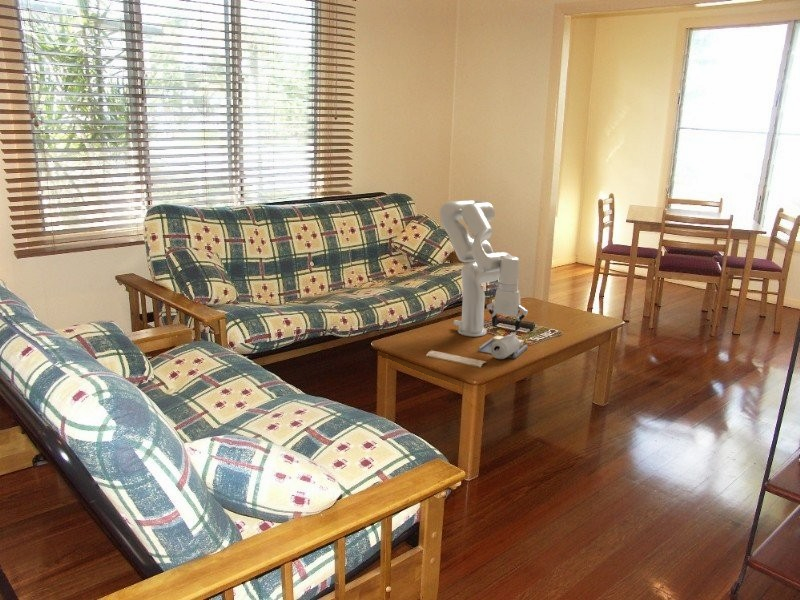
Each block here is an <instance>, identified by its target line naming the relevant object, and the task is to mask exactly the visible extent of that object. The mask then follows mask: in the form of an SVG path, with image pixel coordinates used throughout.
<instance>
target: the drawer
mask: <svg viewBox="0 0 800 600" xmlns="http://www.w3.org/2000/svg"><path fill="white" fill-rule="evenodd" d="M492 340H493V337H492V338H490V339H489V340H488V341H486V342H484V343H483V344H482V345H480V346H479V347H478V350H477V351H478V352H479V353H485V354H489V355H492V353H491V346H492ZM528 348H529V345H528V344H524V345H523V347H522V348H521V349H520V350H518V351H517V352H515V353H513V354H511V355H510V356H508V357H507V358H508V359H509V358H510V359H517V358H518V357H520V356H521V355H522V354H523V353H524V352H526V350H528Z"/></svg>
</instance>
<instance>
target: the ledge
mask: <svg viewBox="0 0 800 600" xmlns="http://www.w3.org/2000/svg"><path fill="white" fill-rule="evenodd" d="M503 337H504V336H503V335H502V336H501V335H494V336H493V337H492V339H493V340H492V344H493V343H494V342H495V341H497V340H499V339H501V338H503ZM518 340H519V342H520V348H519V350H520V349H521V348H522V347H523V346H524V340H523V339H519V338H518Z"/></svg>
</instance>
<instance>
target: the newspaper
mask: <svg viewBox="0 0 800 600" xmlns="http://www.w3.org/2000/svg"><path fill="white" fill-rule="evenodd" d="M425 356H426V357H428V356H429V358H432V359H433V358H434V359H438V360H442V361H449V362H451V363H458V364H462V365H465V366H467V365H468V366H472V367H477V368H482V366H483V364H486V363H488V362H487V361H486V360H485V361H484V360H481V359H475V358H472V357H471V358H470V357H466V356H462V355H461V356H459V355H456V354H451V353H447V352H441V351H435V350H429V351H428V352H427V353H426V355H425Z"/></svg>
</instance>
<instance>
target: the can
mask: <svg viewBox="0 0 800 600" xmlns="http://www.w3.org/2000/svg"><path fill="white" fill-rule="evenodd" d="M502 337H503V338H501V339H499V340H497V341H495V342H494V343H493V344H492V346H491V353H492V354H491V355H492V356H493V357H494V358H495V359H498V360H504V359H506V358H509V357H508V356H510V355H511V354H513V353H515V352H517V351H518V350H519V348H520V342H519V340H520V339H519V338H518V337H517V336H515V335H514V334H507V335H505V336H502ZM518 339H519V340H518Z"/></svg>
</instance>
